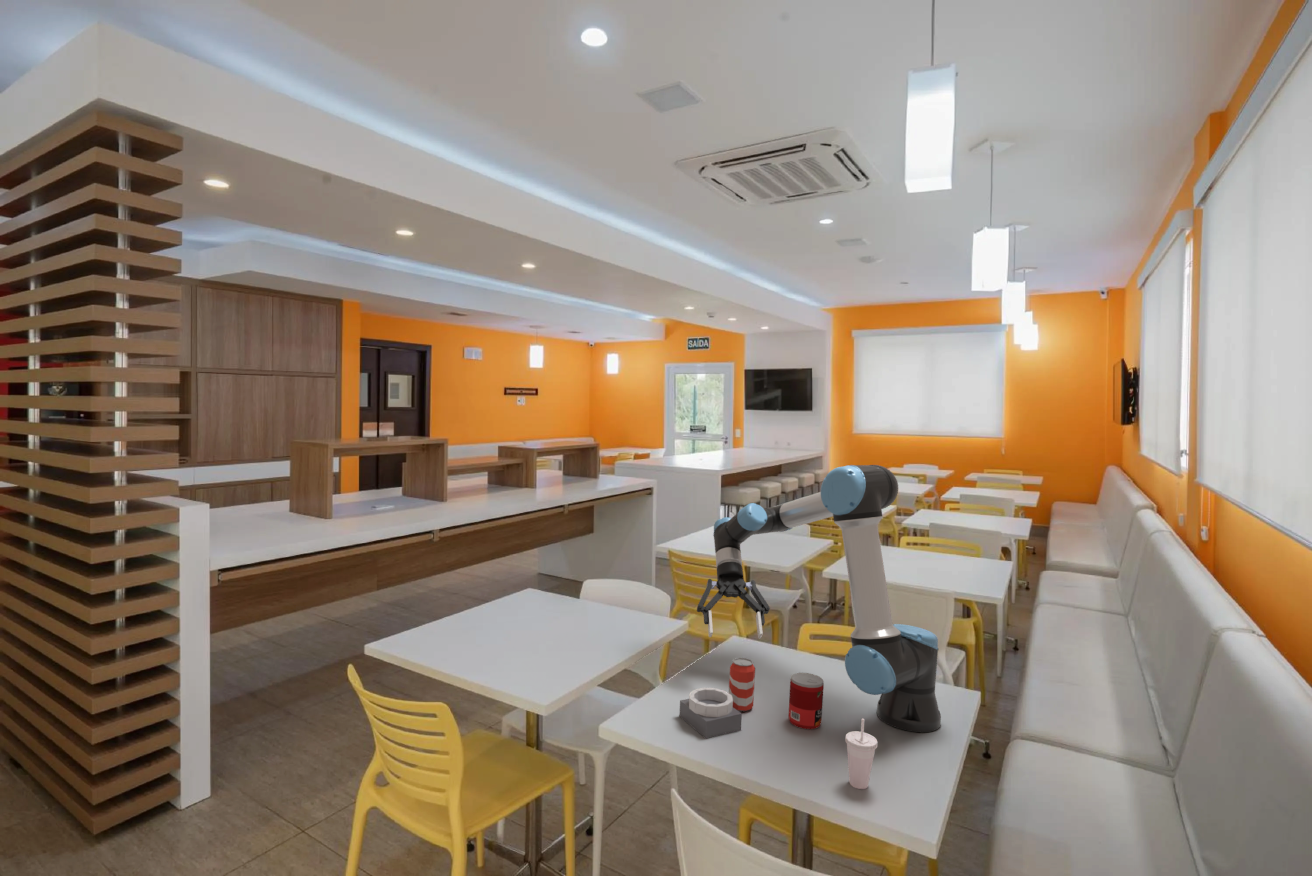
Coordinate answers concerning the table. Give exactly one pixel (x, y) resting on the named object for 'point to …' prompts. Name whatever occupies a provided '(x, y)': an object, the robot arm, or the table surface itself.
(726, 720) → the mount
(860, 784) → the smoothie
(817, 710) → the canned food
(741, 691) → the beverage can
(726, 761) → the table surface
